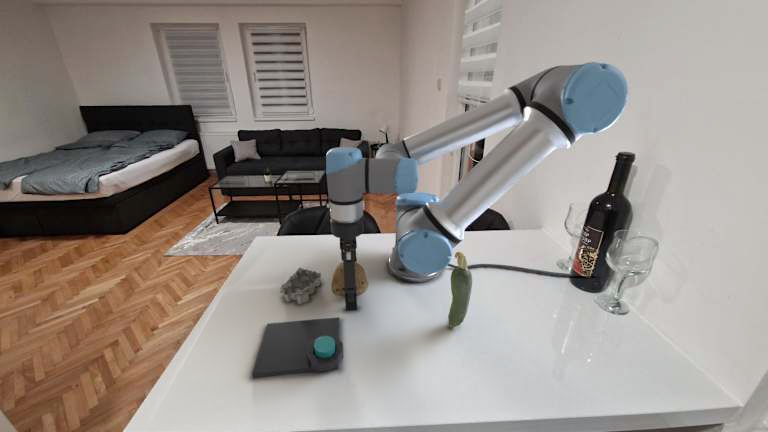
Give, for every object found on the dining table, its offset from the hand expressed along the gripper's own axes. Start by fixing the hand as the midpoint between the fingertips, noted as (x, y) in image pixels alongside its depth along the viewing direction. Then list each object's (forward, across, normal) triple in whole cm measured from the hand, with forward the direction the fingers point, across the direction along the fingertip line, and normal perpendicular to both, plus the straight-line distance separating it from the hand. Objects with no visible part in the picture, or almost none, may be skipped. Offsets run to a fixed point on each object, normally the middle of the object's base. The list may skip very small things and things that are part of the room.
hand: (351, 295), depth 78 cm
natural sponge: (0, 0, 0) cm, 0 cm away
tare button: (-2, +19, -5) cm, 20 cm away
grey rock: (0, -4, -13) cm, 14 cm away
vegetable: (0, +14, +23) cm, 27 cm away
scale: (0, +15, -11) cm, 19 cm away
